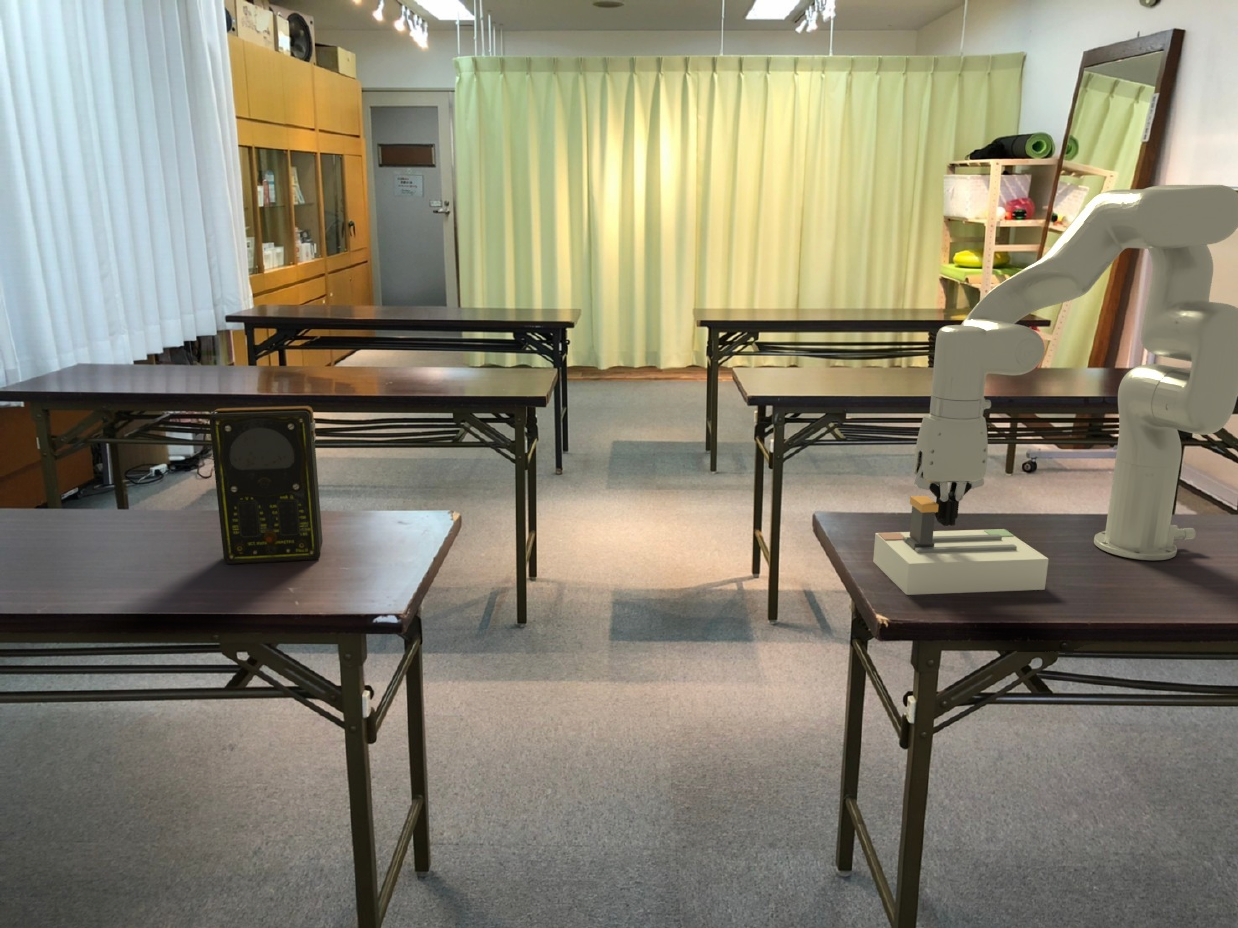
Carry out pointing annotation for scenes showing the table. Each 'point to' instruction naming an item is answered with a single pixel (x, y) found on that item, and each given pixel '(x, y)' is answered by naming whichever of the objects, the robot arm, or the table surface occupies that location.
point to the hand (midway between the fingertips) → (945, 523)
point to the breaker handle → (922, 522)
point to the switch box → (961, 562)
